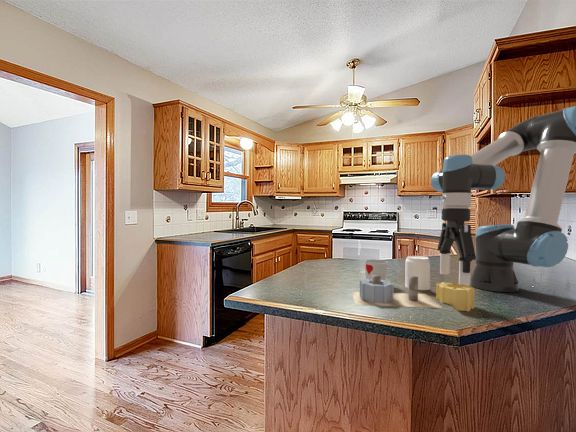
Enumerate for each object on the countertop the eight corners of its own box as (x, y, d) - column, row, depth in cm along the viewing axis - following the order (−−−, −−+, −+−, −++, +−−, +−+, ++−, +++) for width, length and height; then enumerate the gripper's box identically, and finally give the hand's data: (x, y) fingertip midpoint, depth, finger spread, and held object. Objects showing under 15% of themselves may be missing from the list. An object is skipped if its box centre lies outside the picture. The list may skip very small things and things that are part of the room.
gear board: (425, 298, 100) (426, 272, 100) (442, 313, 86) (443, 282, 86) (350, 296, 103) (351, 270, 103) (355, 309, 89) (355, 280, 89)
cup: (361, 286, 116) (361, 259, 116) (382, 285, 117) (382, 259, 117) (368, 291, 108) (369, 263, 108) (391, 291, 109) (391, 263, 109)
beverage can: (432, 295, 104) (433, 259, 104) (407, 293, 106) (407, 258, 106) (426, 288, 112) (427, 256, 112) (403, 287, 114) (403, 255, 114)
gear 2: (464, 301, 97) (464, 282, 97) (479, 311, 87) (480, 290, 87) (432, 300, 98) (432, 281, 98) (444, 310, 88) (444, 289, 88)
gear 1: (388, 294, 99) (388, 279, 99) (396, 303, 90) (396, 286, 90) (358, 293, 100) (358, 278, 100) (362, 302, 91) (362, 285, 91)
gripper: (428, 207, 105) (426, 270, 105) (461, 207, 80) (459, 288, 80) (451, 208, 104) (449, 271, 104) (492, 207, 79) (489, 289, 79)
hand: (453, 278), depth 92 cm, fingers open, 13 cm apart
